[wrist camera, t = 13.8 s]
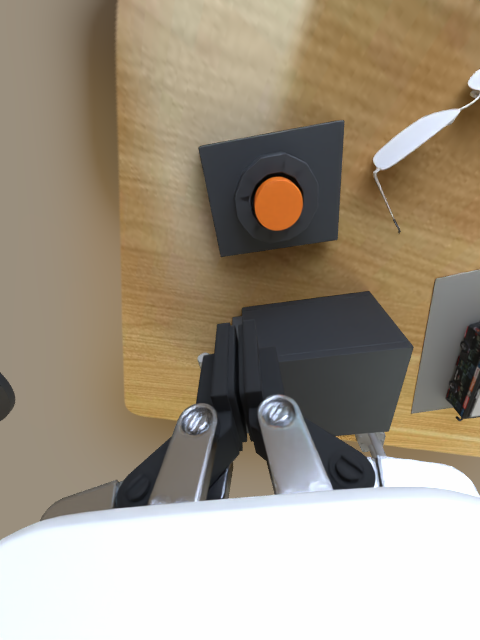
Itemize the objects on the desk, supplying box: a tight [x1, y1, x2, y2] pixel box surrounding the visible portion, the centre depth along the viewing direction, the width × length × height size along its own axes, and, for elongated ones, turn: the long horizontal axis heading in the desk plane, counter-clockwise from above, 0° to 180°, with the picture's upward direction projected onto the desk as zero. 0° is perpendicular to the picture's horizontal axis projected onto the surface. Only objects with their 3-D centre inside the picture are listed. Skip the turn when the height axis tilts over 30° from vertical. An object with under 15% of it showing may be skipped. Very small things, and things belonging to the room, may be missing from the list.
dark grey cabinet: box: [242, 291, 413, 436], centre depth 31 cm, size 15×13×10 cm
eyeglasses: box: [373, 69, 480, 233], centre depth 21 cm, size 14×8×4 cm, turn 131°
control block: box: [199, 120, 344, 257], centre depth 23 cm, size 11×9×4 cm
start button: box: [254, 177, 303, 231], centre depth 21 cm, size 4×4×2 cm
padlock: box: [355, 432, 386, 458], centre depth 39 cm, size 7×4×10 cm, turn 18°
